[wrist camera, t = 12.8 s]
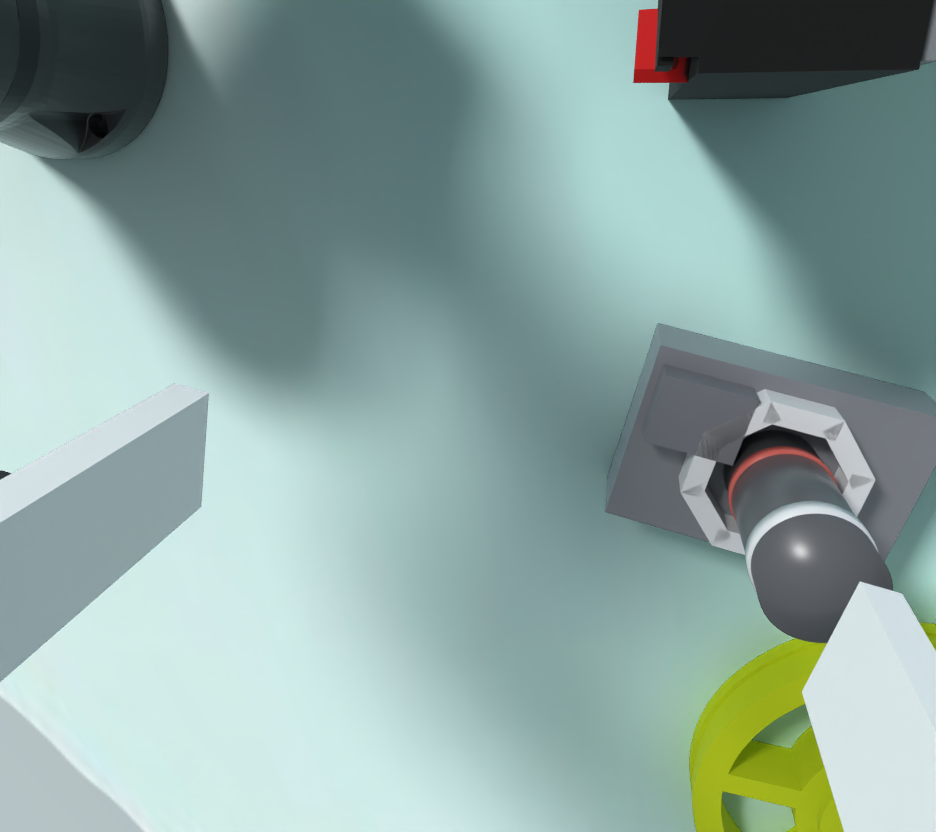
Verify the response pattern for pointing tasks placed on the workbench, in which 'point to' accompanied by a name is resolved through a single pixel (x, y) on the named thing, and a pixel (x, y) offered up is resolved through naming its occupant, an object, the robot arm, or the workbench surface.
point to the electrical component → (779, 45)
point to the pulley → (763, 744)
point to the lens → (799, 535)
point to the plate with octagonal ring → (755, 410)
